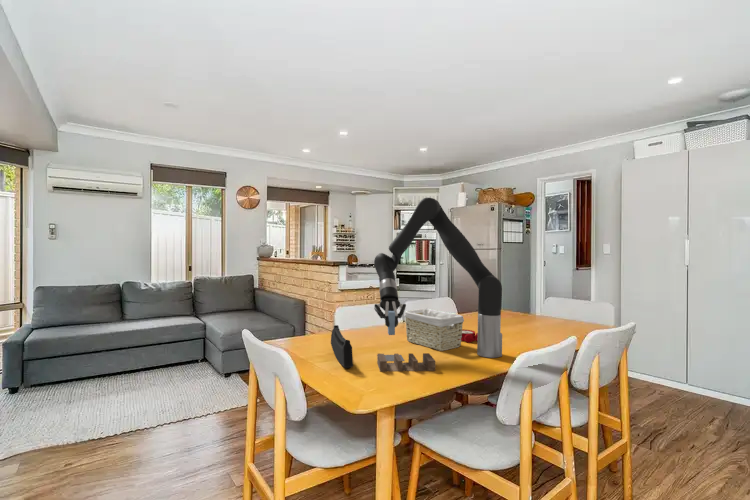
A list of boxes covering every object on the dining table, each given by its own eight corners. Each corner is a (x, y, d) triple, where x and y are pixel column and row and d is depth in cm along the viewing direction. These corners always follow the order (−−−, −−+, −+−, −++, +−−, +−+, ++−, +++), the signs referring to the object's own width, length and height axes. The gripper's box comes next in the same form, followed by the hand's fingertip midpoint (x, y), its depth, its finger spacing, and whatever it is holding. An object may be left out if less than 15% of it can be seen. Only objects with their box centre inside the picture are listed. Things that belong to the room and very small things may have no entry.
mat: (401, 355, 162) (401, 354, 162) (404, 361, 153) (404, 360, 153) (376, 355, 161) (376, 354, 161) (379, 361, 152) (379, 361, 152)
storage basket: (465, 347, 177) (465, 314, 177) (440, 353, 167) (441, 318, 167) (426, 337, 196) (427, 307, 196) (402, 341, 186) (403, 310, 186)
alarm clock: (464, 328, 201) (485, 327, 188) (466, 341, 200) (487, 341, 187) (448, 330, 196) (469, 329, 183) (450, 343, 195) (471, 343, 182)
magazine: (354, 347, 139) (340, 309, 166) (345, 347, 138) (332, 310, 165) (351, 388, 144) (337, 345, 171) (342, 389, 143) (330, 346, 170)
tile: (393, 332, 159) (393, 310, 159) (394, 334, 155) (395, 312, 155) (387, 332, 159) (387, 310, 158) (388, 335, 155) (389, 312, 155)
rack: (428, 363, 151) (429, 353, 151) (435, 371, 141) (435, 360, 141) (377, 363, 149) (377, 353, 149) (380, 372, 140) (380, 361, 140)
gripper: (372, 285, 164) (375, 320, 152) (405, 285, 165) (410, 320, 153) (371, 297, 169) (373, 331, 157) (403, 296, 170) (408, 331, 158)
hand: (392, 325), depth 155 cm, fingers closed on tile, 2 cm apart
